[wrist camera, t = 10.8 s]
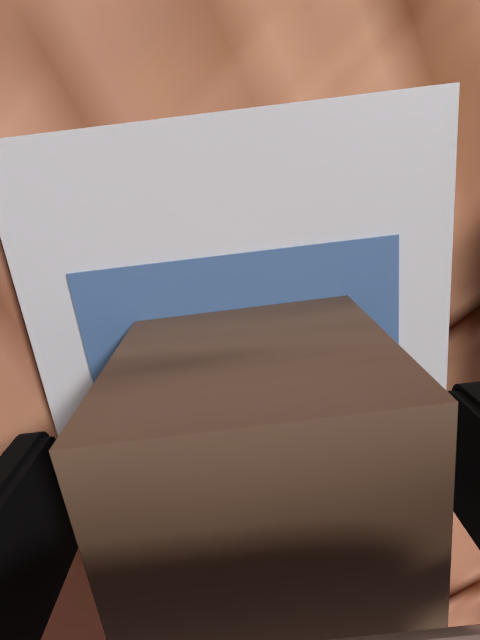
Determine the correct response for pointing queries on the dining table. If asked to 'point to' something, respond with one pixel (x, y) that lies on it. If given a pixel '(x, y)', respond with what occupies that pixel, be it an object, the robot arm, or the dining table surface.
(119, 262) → the board
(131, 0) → the dining table surface
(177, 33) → the dining table surface
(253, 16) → the dining table surface
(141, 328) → the walnut cube
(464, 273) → the dining table surface
